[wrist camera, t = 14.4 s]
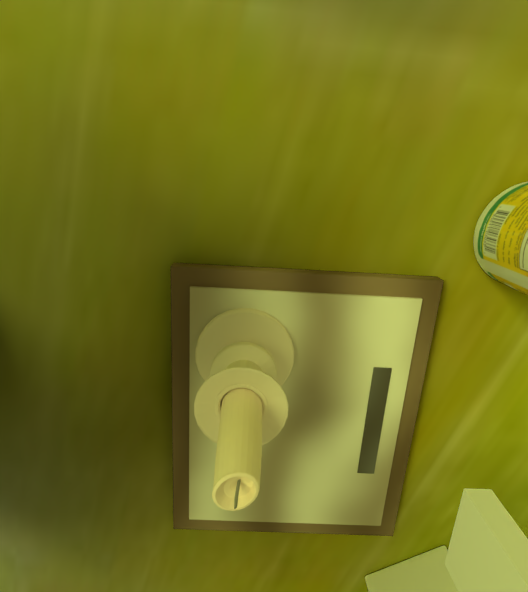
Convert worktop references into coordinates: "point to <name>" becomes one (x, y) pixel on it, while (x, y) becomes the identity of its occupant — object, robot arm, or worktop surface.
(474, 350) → the worktop surface
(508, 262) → the supplement bottle
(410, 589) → the milk
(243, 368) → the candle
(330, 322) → the writing board
